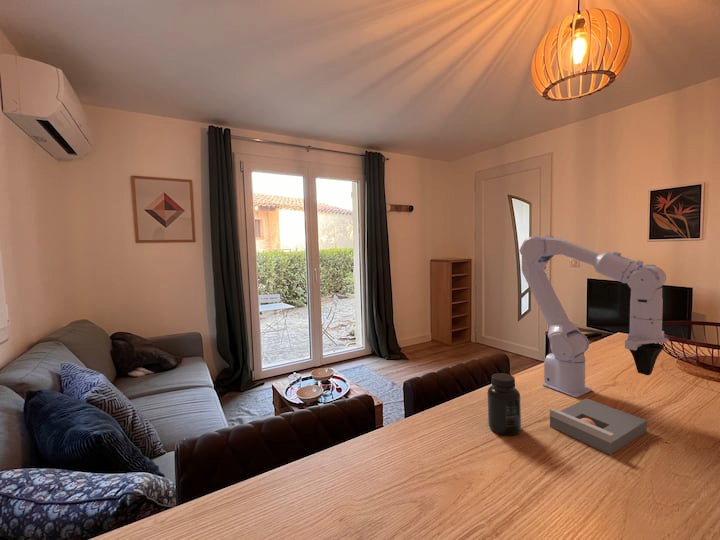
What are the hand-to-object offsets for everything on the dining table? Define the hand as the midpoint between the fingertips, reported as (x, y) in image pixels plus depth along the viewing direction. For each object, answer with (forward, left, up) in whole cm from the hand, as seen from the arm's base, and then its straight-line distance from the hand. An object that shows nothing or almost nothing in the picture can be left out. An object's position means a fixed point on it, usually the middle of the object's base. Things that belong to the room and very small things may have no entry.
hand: (644, 373), depth 78 cm
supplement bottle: (-13, -33, -10) cm, 37 cm away
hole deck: (-2, -16, -9) cm, 19 cm away
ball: (-2, -21, -8) cm, 22 cm away
